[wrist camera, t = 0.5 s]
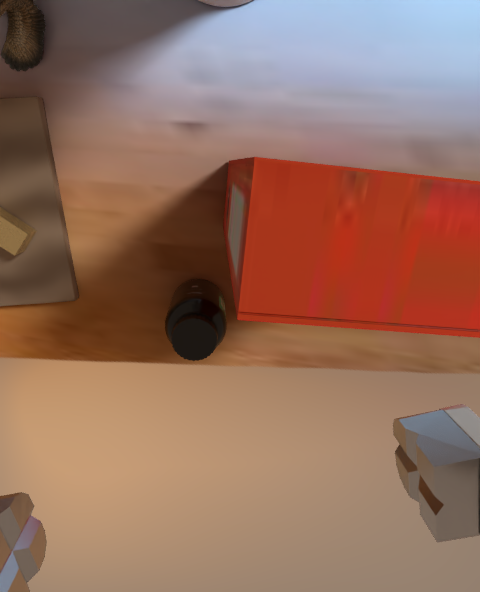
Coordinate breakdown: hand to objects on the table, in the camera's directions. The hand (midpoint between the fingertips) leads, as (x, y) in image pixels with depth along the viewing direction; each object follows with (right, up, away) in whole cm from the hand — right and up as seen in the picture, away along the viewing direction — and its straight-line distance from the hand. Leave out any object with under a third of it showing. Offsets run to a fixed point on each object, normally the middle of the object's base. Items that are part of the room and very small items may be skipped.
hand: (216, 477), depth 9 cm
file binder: (+7, +16, +42) cm, 45 cm away
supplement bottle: (-5, +3, +45) cm, 45 cm away
